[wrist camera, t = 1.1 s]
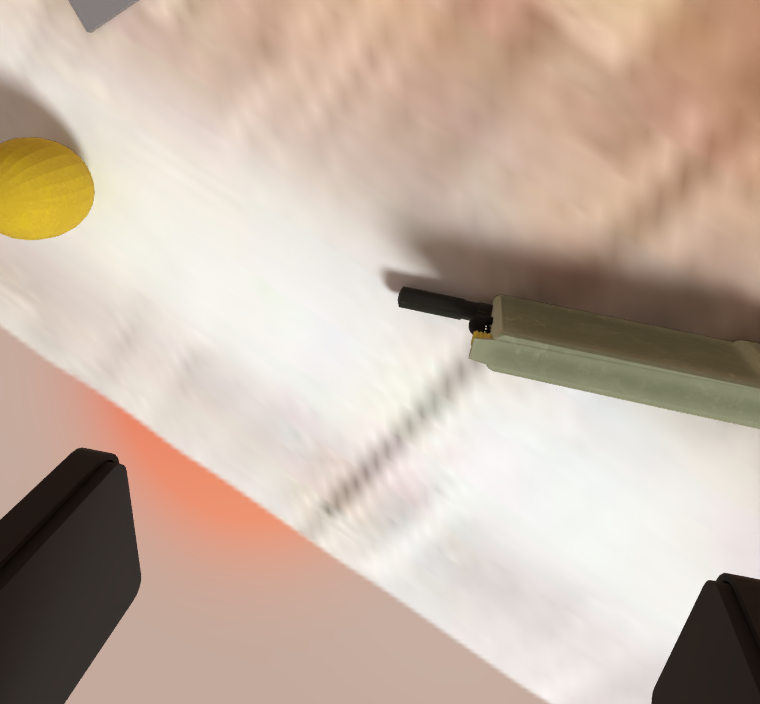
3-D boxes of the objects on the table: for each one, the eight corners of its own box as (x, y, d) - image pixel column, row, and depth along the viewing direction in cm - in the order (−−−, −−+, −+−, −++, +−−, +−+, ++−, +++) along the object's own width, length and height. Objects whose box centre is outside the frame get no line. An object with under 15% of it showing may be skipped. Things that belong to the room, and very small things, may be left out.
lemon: (103, 125, 36) (7, 142, 29) (130, 216, 38) (48, 252, 31) (24, 135, 37) (-86, 154, 30) (55, 223, 40) (-40, 260, 33)
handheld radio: (798, 399, 36) (396, 315, 39) (824, 351, 35) (406, 266, 37) (859, 461, 30) (380, 357, 33) (893, 406, 29) (390, 301, 31)
